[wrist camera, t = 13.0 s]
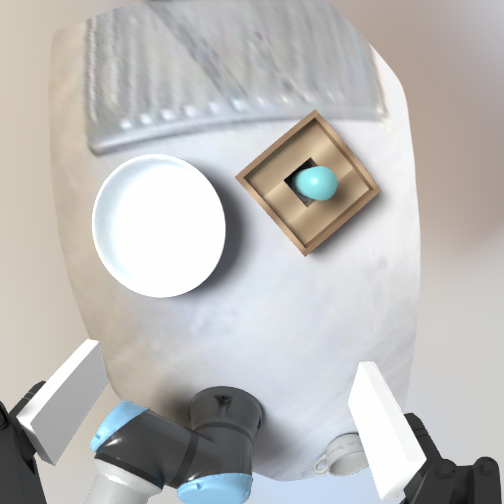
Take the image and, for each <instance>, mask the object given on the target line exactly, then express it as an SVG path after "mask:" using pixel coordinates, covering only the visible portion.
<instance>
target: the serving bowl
mask: <svg viewBox="0 0 504 504" xmlns="http://www.w3.org/2000/svg"><path fill="white" fill-rule="evenodd" d="M92 229H93V237H94V242H95V246H96V249H97V251H98V254H99V256H100V258H101V260H102V262H103V263H104V265H105V266H106V268H107V269H108V271H109V272H110V273H111V274H112V275H113V276H114V277H115V278H116V279H117V280H118V281H119V282H120V283H122V284H123V285H125V286H126V287H128V288H129V289H131V290H133V291H135V292H138V293H140V294H143V295H147V296H152V297H173V296H177V295H181V294H184V293H186V292H189V291H191V290H192V289H194V288H196V287H197V286H199V285H200V284H201V283H203V282H204V281H205V280H206V279H207V278H208V277H209V276H210V274H211V273H212V272H213V270H214V269H215V267H216V266H217V264H218V262H219V260H220V257H221V255H222V252H223V248H224V244H225V237H226V221H225V215H224V210H223V206H222V203H221V201H220V198H219V196H218V194H217V192H216V190H215V188H214V187H213V185H212V184H211V183H210V181H209V180H208V179H207V178H206V177H205V176H204V175H203V174H202V173H201V172H200V171H199V170H198V169H197V168H195V167H194V166H193V165H191V164H189V163H188V162H186V161H184V160H182V159H179V158H176V157H173V156H169V155H162V154H150V155H144V156H140V157H136V158H134V159H131V160H129V161H127V162H126V163H124V164H122V165H121V166H119V167H118V168H117V169H116V170H115V171H114V172H113V173H112V174H111V175H110V176H109V177H108V178H107V180H106V181H105V182H104V184H103V186H102V187H101V189H100V191H99V193H98V196H97V198H96V201H95V205H94V210H93V218H92Z"/></svg>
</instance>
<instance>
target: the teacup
mask: <svg viewBox="0 0 504 504" xmlns="http://www.w3.org/2000/svg"><path fill="white" fill-rule="evenodd" d="M325 459H326V464H325V467H324V468H323V469H322V470H318V469H317V466H318V465H319V464H320V463H321V462H322V461H323V460H325ZM368 465H369V463H368V460H367V457H366V454H365V451H364V448H363V445H362V442H361V439H360V436H359V435H356V434H345V435H342V436H339V437H337V438H336V439H334V440H333V441H332V442H331V443H330V444H329V445H328V446H327V448H326V452H325V453H324V454H323V455H322V457H320V458H319V459H318V460H317V461H316V462H315V463H314V465H313V471H314V472H315V473H316V474H324V473H325V472H327V471H328V472H329V473H330V474H331V475H334V476H346V475H351V474H354V473H356V472H359V471H361V470H362V469H364V468H366V467H367V466H368Z"/></svg>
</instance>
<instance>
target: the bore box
mask: <svg viewBox="0 0 504 504" xmlns="http://www.w3.org/2000/svg"><path fill="white" fill-rule="evenodd" d="M306 160H308V161H309V163H310V164H311V165H312V166H313V167H317V166H323V167H327V168H329V169H330V170H331V171H332V172H333V173H334V174H335V176H336V178H337V189H336V192H335V193H334V195H333V196H332V197H330V198H329V199H327V200H322V201H321V200H315V199H312V198H311V199H310V200H309V201H308V202H307V203H306V204H303V203H302V201H301V200H300V199H299V198H298V197H297V196H296V194H295V193H294V192H293V191H292V190H291V189H290V187H289V186H288V185H287V184H286V183H285V182H284V181H283V180H284V179H285V178H286V177H288V176H289V175H290V174H291V173H292V172H293V171H295V170H296V169H297V168H298V167H299V166H300V165H302V164H303V163H304V162H305V161H306ZM235 178H236V179H237V180H238V181H239V183H240V184H241V185H242V186H243V187H244V188H245V189H246V190H247V191H248V192H249V194H250V195H251V196H252V197H253V198H254V199H255V200H256V201H257V202H258V204H259V205H260V206H261V207H262V208H263V209H264V210H265V211H266V213H267V214H268V215H269V216H270V217H271V218H272V219H273V220H274V222H275V223H276V224H277V225H278V226H279V227H280V228H281V230H282V231H283V232H284V233H285V234H286V235H287V236H288V238H289V239H290V240H291V241H292V242H293V243H294V245H295V246H296V247H297V248H298V249H299V250H300V251H301V253H302V254H303V255H304V256H305V257H306V256H307V255H308V254H309V253H310V252H311V251H313V250H314V249H315V248H316V247H317V246H318V245H320V244H321V243H322V242H323V241H324V240H325V239H327V238H328V237H329V236H330V235H331V234H332V233H334V232H335V231H336V230H337V229H338V228H339V227H341V226H342V225H343V224H344V223H345V222H346V221H347V220H349V219H350V218H351V217H352V216H353V215H354V214H355V213H356V212H358V211H359V210H360V209H361V208H362V207H363V206H364V205H366V204H367V203H368V202H369V201H370V200H371V199H372V198H373V197H374V196H376V195H377V194H378V193H379V192H380V191H381V190H380V188H379V187H378V186H377V184H376V183H375V181H374V180H373V179H372V177H371V176H370V175H369V173H368V172H367V171H366V169H365V168H364V167H363V166H362V164H361V163H360V162H359V160H358V159H357V158H356V157H355V155H354V154H353V153H352V152H351V150H350V149H349V148H348V147H347V145H346V144H345V143H344V142H343V141H342V139H341V138H340V137H339V136H338V135H337V133H336V132H335V131H334V130H333V129H332V128H331V126H330V125H329V124H328V123H327V122H326V121H325V120H324V119H323V117H322V116H321V115H320V114H319V113H318V112H317V111H316V110H314V111H313V112H311V113H310V114H309V115H307V116H306V117H305V118H304V119H303V120H301V121H300V122H299V123H298V124H296V125H295V126H294V127H293V128H291V129H290V130H289V131H288V132H287V133H285V134H284V135H283V136H282V137H281V138H279V139H278V140H277V141H276V142H275V143H273V144H272V145H271V146H270V147H269V148H268V149H266V150H265V151H264V152H263V153H262V154H261V155H259V156H258V157H257V158H256V159H255V160H254V161H252V162H251V163H250V164H249V165H248V166H247V167H246V168H244V169H243V170H242V171H241V172H240V173H239V174H238V175H237V176H235Z"/></svg>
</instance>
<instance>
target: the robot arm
mask: <svg viewBox="0 0 504 504" xmlns="http://www.w3.org/2000/svg"><path fill="white" fill-rule="evenodd" d="M107 384H108V379H107V375H106V370H105V366H104V362H103V357H102V352H101V347H100V342H99V341H95V340H90V339H87V340H86V341H85V342H84V343H83V344H82V345H81V346H80V347H79V348H78V349H77V350H76V351H75V352H74V353H73V354H72V355H71V357H70V358H69V359H68V360H67V361H66V362H65V363H64V364H63V365H62V366H61V367H60V368H59V369H58V370H57V371H56V372H55V374H54V375H53V376H52V377H51V378H50V379H49V380H48V381H47V382H45V381H41V382H39V383H38V384H36V385H34V386H33V387H32V388H31V390H29V393H27V394H26V395H25V396H24V398H22V399H21V400H20V401H19V403H18V404H17V405H16V406H15V407H14V408H13V409H12V410H11V411H10V413H9V414H8V412H7V411H6V408H5V406H4V405H3V403H2V402H1V401H0V504H47V503H46V500H45V496H44V492H43V489H42V485H41V481H40V477H39V473H38V469H37V464H36V460H35V458H34V454H35V453H36V452H37V453H38V455H39V456H40V458H41V459H42V460H43V461H46V462H48V463H50V464H52V465H54V466H55V465H56V463H57V461H58V460H59V458H60V456H61V455H62V453H63V452H64V450H65V448H66V446H67V445H68V444H69V442H70V440H71V439H72V437H73V435H74V434H75V433H76V431H77V429H78V428H79V426H80V425H81V423H82V422H83V420H84V419H85V417H86V416H87V414H88V412H89V411H90V409H91V408H92V406H93V405H94V403H95V402H96V400H97V399H98V397H99V396H100V394H101V393H102V391H103V390H104V388H105V387H106V385H107ZM348 405H349V407H350V410H351V413H352V416H353V419H354V422H355V424H356V427H357V430H358V433H359V436H360V439H361V442H362V445H363V448H364V451H365V454H366V457H367V460H368V463H369V466H370V469H371V472H372V475H373V478H374V481H375V484H376V487H377V490H378V494H379V497H380V500H381V501H383V500H388V499H392V498H396V497H398V496H399V495H400V493H401V492H402V491H403V490H404V493H405V495H406V497H405V498H404V499H403V500H402V501H401V503H400V504H502V503H501V485H500V474H499V467H498V464H497V462H496V461H495V460H494V459H492V458H490V457H481V458H479V459H477V461H476V462H475V463H474V464H473V465H468V466H456V464H455V463H454V462H452V461H450V460H448V459H443V458H442V457H441V455H440V453H439V451H438V450H437V448H436V446H435V444H434V443H433V441H432V439H431V437H430V435H428V432H427V430H426V429H425V427H424V425H423V423H422V421H421V420H420V419H419V418H418V417H417V416H416V415H414V414H413V413H408V414H403V413H402V411H401V409H400V407H399V405H398V403H397V402H396V400H395V398H394V396H393V394H392V393H391V391H390V389H389V387H388V385H387V384H386V382H385V380H384V378H383V377H382V375H381V373H380V371H379V370H378V368H377V366H376V364H375V363H374V361H371V362H360V364H359V367H358V371H357V374H356V378H355V381H354V384H353V388H352V391H351V394H350V397H349V400H348ZM189 419H190V422H191V428H192V430H191V429H189V428H187V427H185V426H182V425H180V424H178V423H175V422H173V421H171V420H169V419H167V418H165V417H163V416H161V415H159V414H157V413H155V412H153V411H151V410H150V409H149V408H144V407H142V406H140V405H138V404H136V403H134V402H132V401H122V402H120V403H119V404H118V405H117V406H116V407H115V408H114V409H113V410H112V411H111V412H110V414H109V415H108V416H107V417H106V419H105V420H104V421H103V423H102V425H101V426H100V427H99V429H98V432H97V433H96V435H95V436H94V437H93V439H92V442H91V445H90V446H91V449H92V450H93V451H94V452H96V455H95V457H94V460H93V462H94V464H95V467H96V469H97V476H96V478H95V481H94V483H93V485H92V487H91V490H90V492H89V494H88V496H87V498H86V501H85V503H84V504H147V501H148V498H149V497H151V496H153V495H156V494H159V493H161V492H162V489H163V487H164V484H165V485H167V486H170V487H173V488H175V489H177V495H178V498H179V499H180V500H181V501H183V502H184V503H185V504H243V503H244V502H245V501H246V500H247V499H248V498H249V496H250V492H251V485H252V482H253V478H252V455H253V440H254V438H255V436H256V434H257V432H258V430H259V428H260V426H261V423H262V409H261V406H260V404H259V403H258V401H257V400H256V399H255V398H254V397H253V396H251V395H250V394H248V393H247V392H245V391H242V390H240V389H236V388H232V387H223V386H221V387H211V388H208V389H205V390H203V391H201V392H199V393H198V394H197V395H195V397H194V398H193V399H192V402H191V405H190V408H189Z"/></svg>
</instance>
